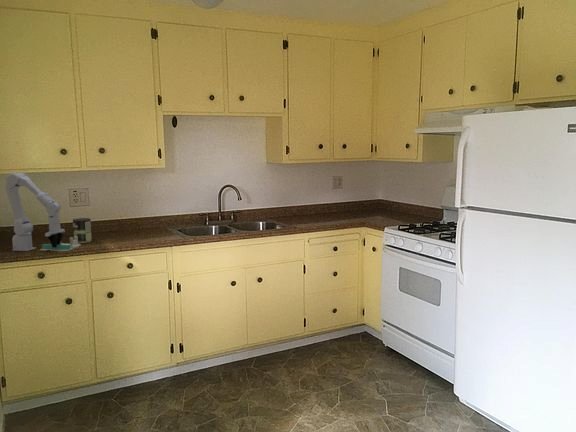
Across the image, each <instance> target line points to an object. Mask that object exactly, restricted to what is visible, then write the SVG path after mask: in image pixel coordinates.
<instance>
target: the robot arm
mask: <svg viewBox="0 0 576 432" xmlns="http://www.w3.org/2000/svg"><path fill="white" fill-rule="evenodd" d="M5 181H6V185H5V191H6V195H7V198H8V201H9V204H10V207H11V211H12V213H13V217H14V219H15V220H14V221H13V232H14V233H15V234H14V235H13V236H12V239H11V240H12V241H11V242H12V251H13V252H15V251H16V252H29V251H31V250H36V247H33V237H32V232H33V231H34V225H33V223H31V221H30V219H29V217H27V215H26V213H25V209H24V207H23V203H22V200H21V198H20V195H19V189H20V188H21V187H25V188H27V190H29V191H30V192H31V193H32V194H33V195H34V196H36V200H37V201H38V202H39V203H40V204H41V205H42V206H43V207H44V208H45V212H47V216H48V230H49V231H48V232H45V233H44V236H45V237H47V238H48V240H49V242H50V244H52V247H57V244H62V239H63V237H64V233H66V230H65V228H61V216H60V211H61V209H62V206H61V204H60V203H59V202H58V201H56V200H55V199H53V198H52V197H50V194H49V193H48V192H43V191H41V190H40V188H39V187H37V186H36V184H35V183H34V182H33V181H32V180H31V179H30V177H29V176H27V174H26V173H25V172H16V173H13V172H12V173H9V174H8V175H7V177H5Z"/></svg>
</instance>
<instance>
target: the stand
mask: <svg viewBox="0 0 576 432" xmlns="http://www.w3.org/2000/svg"><path fill="white" fill-rule="evenodd" d="M63 244H64V245H70V248H73V249H76V248H79V247H81V246H82V245H81V244H82V243H78V236H74V235H73V237H69V243H63Z"/></svg>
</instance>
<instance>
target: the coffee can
mask: <svg viewBox="0 0 576 432" xmlns="http://www.w3.org/2000/svg"><path fill="white" fill-rule="evenodd" d="M91 220H92V219H91V218H88V217H87V218H85V217H84V218H83V217H80V218H73V219H72V227H73V237H74V236H78V244H82V243H83V244H84V243H91V242H92V241H93V240H92V225H91Z"/></svg>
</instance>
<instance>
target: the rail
mask: <svg viewBox="0 0 576 432" xmlns="http://www.w3.org/2000/svg"><path fill="white" fill-rule="evenodd" d="M64 244H65V243H61V244H57V247H52V244H51V243H44V244H42V245H41V246H42V247H41V249H63V250H68V249H70V245H64Z"/></svg>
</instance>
